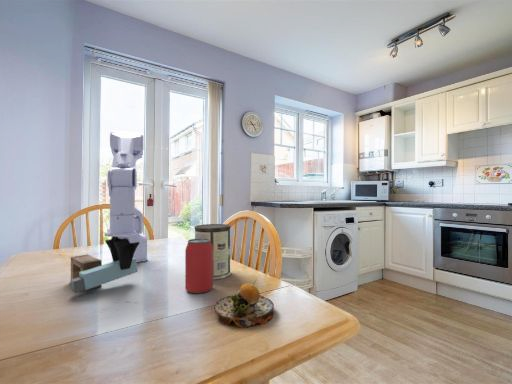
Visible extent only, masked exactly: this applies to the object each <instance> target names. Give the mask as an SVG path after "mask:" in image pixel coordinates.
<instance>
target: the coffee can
mask: <svg viewBox="0 0 512 384" xmlns="http://www.w3.org/2000/svg"><path fill="white" fill-rule="evenodd" d="M199 238H204V239H210V240H211V244H212V247H213V281H215V280H222V279H225V278H228V277H229V276H231V225H230V224H225V223H223V224H222V223H208V224H206V223H205V224H199V225H195V226H194V239H199Z"/></svg>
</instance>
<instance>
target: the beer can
mask: <svg viewBox="0 0 512 384" xmlns="http://www.w3.org/2000/svg"><path fill="white" fill-rule="evenodd" d="M184 252H185V253H184V254H185V258H184V260H185V275H184V276H185V277H184V278H185V279H184V282H185V287H184V289H185V290H186V291H187V292H188V293H190V294H205V293H207V292H209V291H211V290H212V289H213V286H214V280H213V247H212V244H211V240H210V239H204V238H199V239H195V238H192V239H188V240H187V244H186V247H185V251H184Z"/></svg>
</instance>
